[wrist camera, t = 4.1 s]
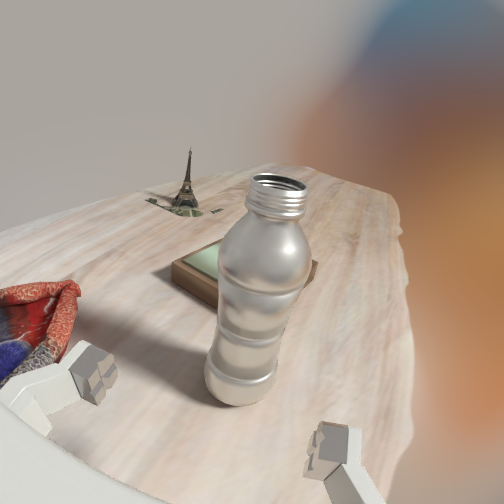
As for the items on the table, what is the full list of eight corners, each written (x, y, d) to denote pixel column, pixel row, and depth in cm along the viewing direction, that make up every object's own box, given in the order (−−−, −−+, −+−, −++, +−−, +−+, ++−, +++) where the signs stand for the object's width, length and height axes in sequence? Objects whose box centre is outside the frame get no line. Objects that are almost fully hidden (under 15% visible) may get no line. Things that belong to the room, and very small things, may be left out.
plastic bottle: (189, 377, 29) (205, 168, 19) (245, 354, 33) (284, 166, 23) (226, 426, 24) (272, 206, 15) (284, 395, 28) (352, 197, 19)
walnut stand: (256, 332, 36) (261, 310, 34) (171, 280, 42) (172, 259, 40) (313, 278, 48) (319, 260, 47) (240, 244, 54) (243, 226, 53)
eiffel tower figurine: (143, 202, 66) (146, 142, 60) (175, 192, 74) (180, 138, 67) (192, 224, 60) (199, 156, 53) (224, 211, 68) (233, 151, 61)
